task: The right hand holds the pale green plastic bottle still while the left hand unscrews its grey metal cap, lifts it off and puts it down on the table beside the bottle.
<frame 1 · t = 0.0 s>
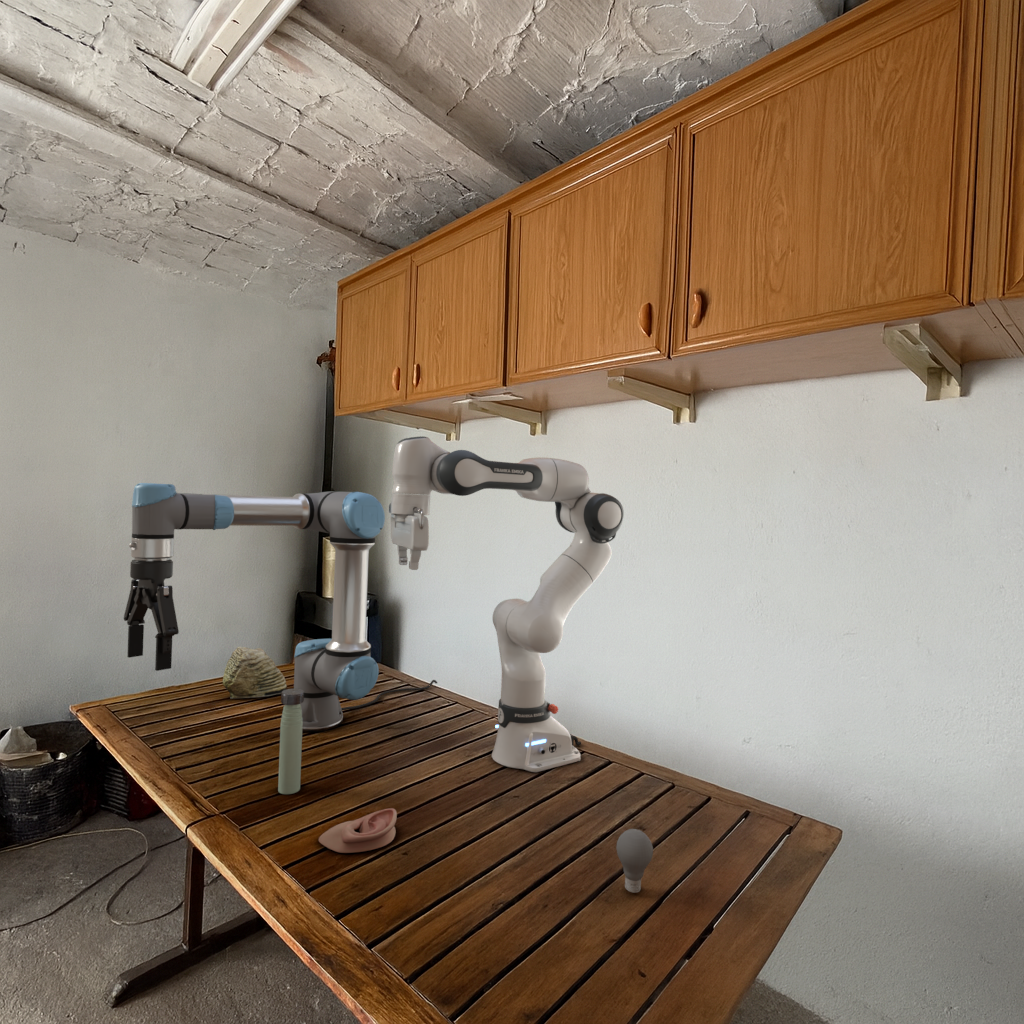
left hand: (148, 662, 129), 28 cm above the table, tool pointing down, fingers open, 13 cm apart
right hand: (408, 567, 145), 48 cm above the table, tool pointing down, fingers open, 8 cm apart
light bulb: (632, 891, 106), on the table
cap: (292, 692, 136), point 21 cm above the table, screwed on, not yet turned
fossil: (254, 694, 198), on the table
anatomical model: (358, 838, 118), on the table
bottle: (289, 789, 136), on the table
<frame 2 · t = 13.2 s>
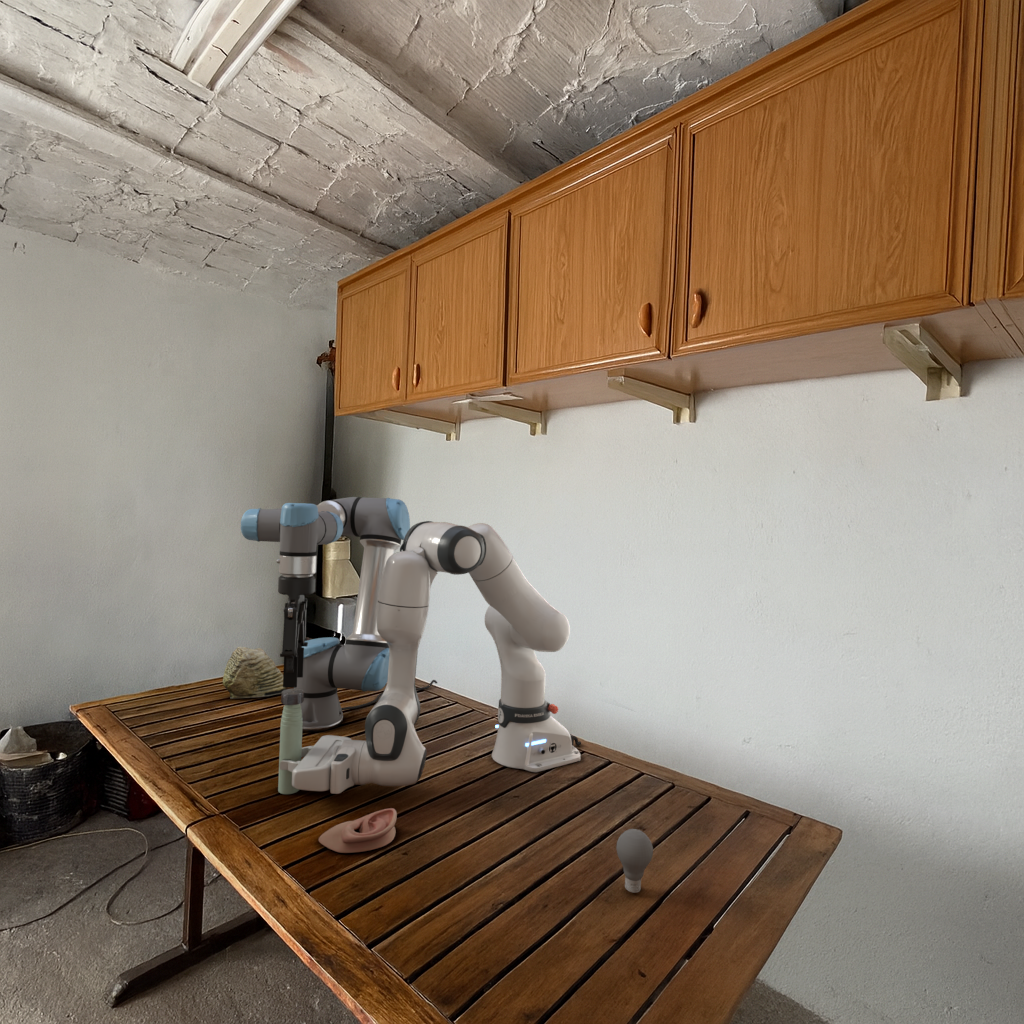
left hand: (293, 681, 136), 23 cm above the table, tool pointing down, fingers open, 7 cm apart
right hand: (286, 758, 136), 7 cm above the table, tool horizontal, fingers closed on bottle, 4 cm apart
bottle: (289, 789, 136), on the table, touching right hand
everything else where it was.
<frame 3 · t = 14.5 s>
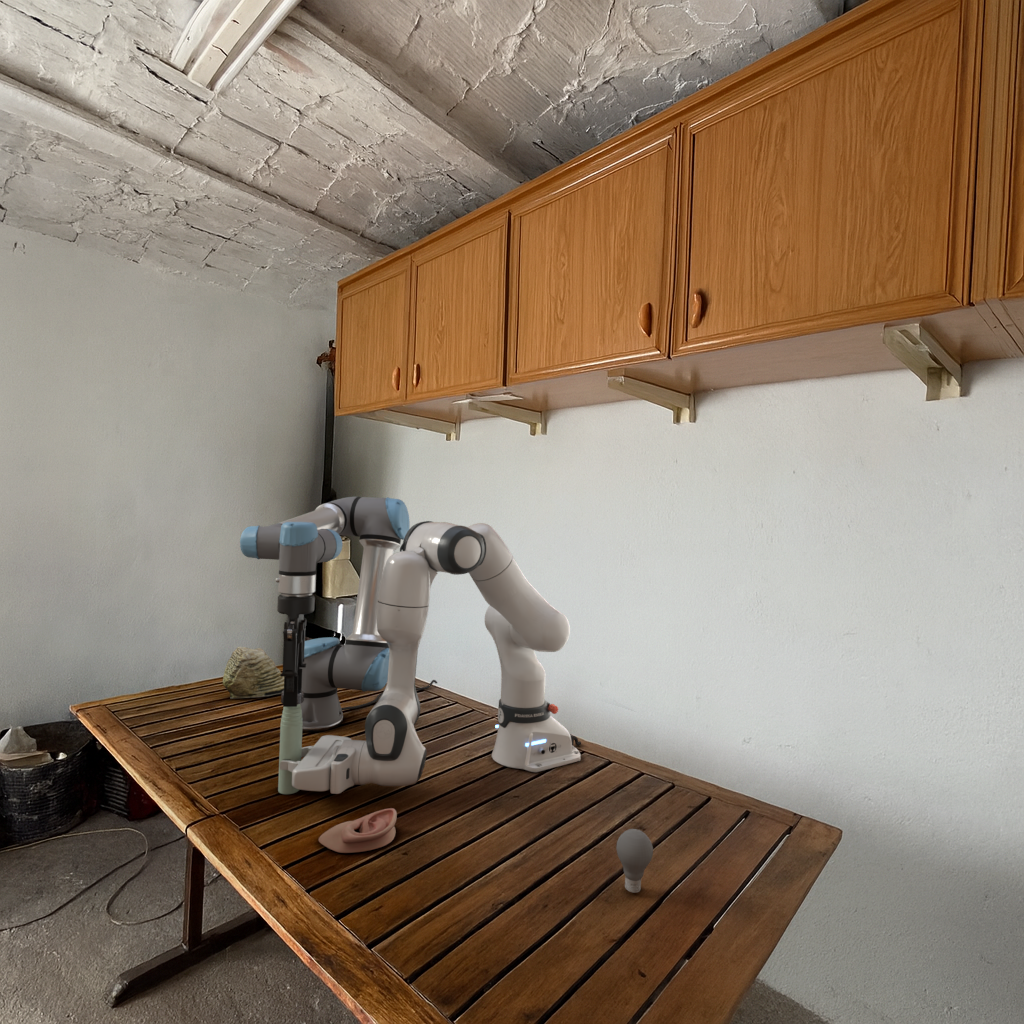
left hand: (292, 702, 136), 19 cm above the table, tool pointing down, fingers closed on cap, 4 cm apart
right hand: (286, 758, 136), 7 cm above the table, tool horizontal, fingers closed on bottle, 4 cm apart
cap: (292, 692, 136), point 21 cm above the table, screwed on, not yet turned, touching left hand
bottle: (289, 789, 136), on the table, touching right hand
everything else where it was.
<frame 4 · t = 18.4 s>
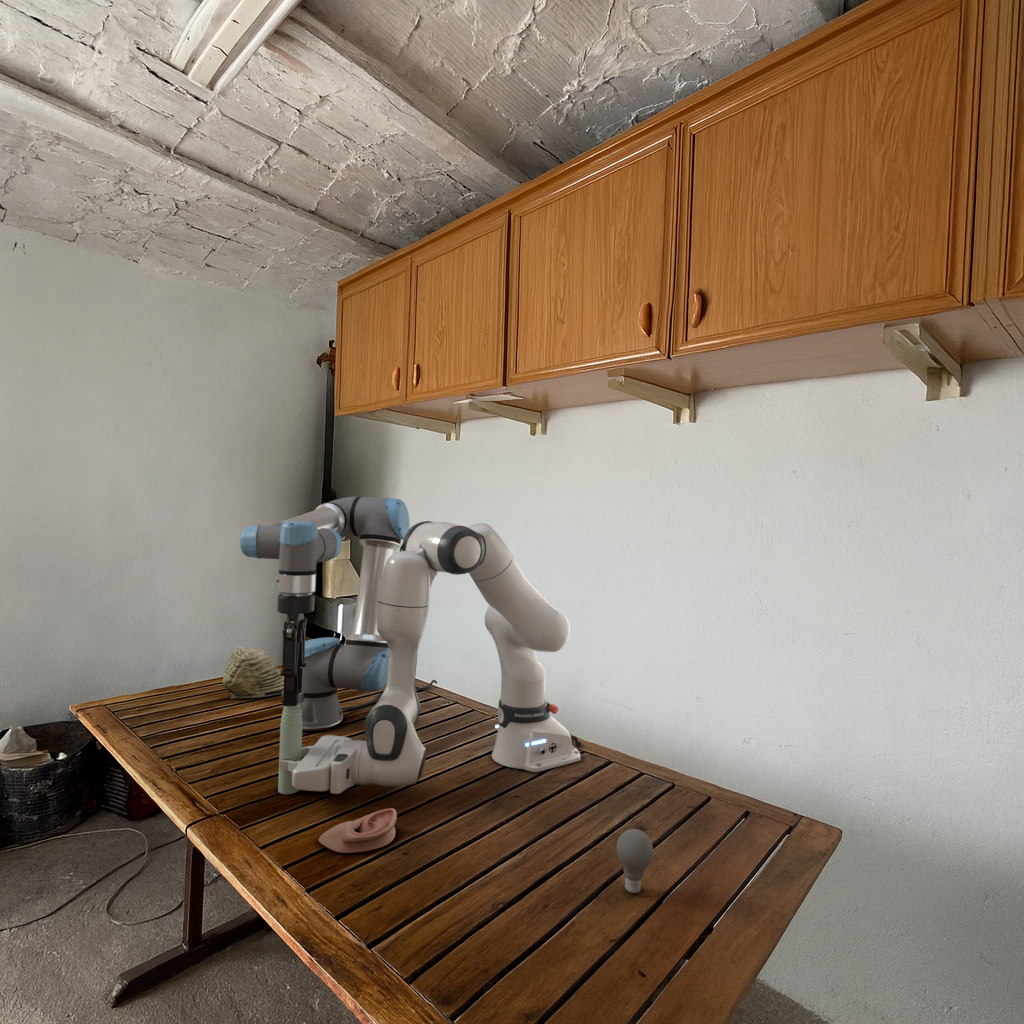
left hand: (292, 701, 136), 19 cm above the table, tool pointing down, fingers closed on cap, 4 cm apart
right hand: (286, 758, 136), 7 cm above the table, tool horizontal, fingers closed on bottle, 4 cm apart
cap: (292, 692, 136), point 21 cm above the table, turned 134° so far, risen 0.1 cm, still on its thread, touching left hand
bottle: (289, 789, 136), on the table, touching right hand
everything else where it was.
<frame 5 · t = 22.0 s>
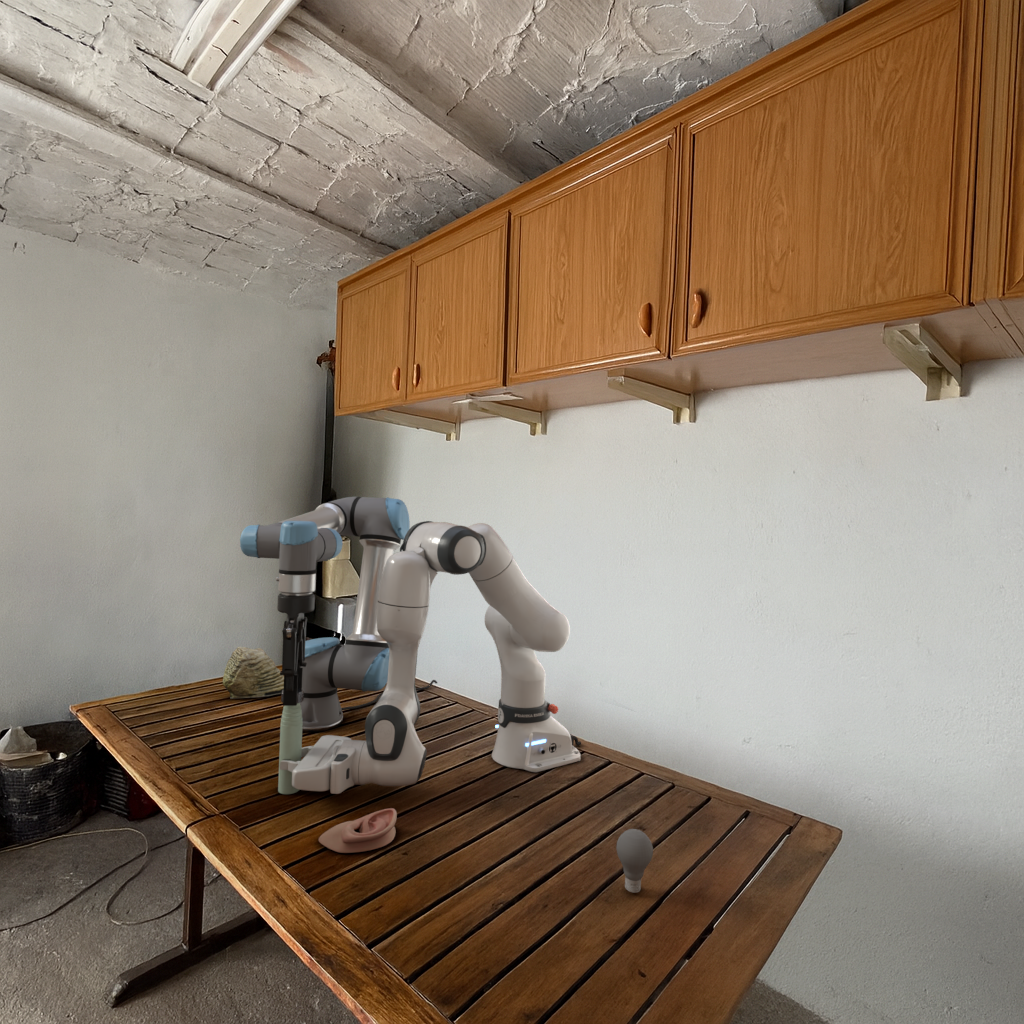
left hand: (292, 700, 136), 19 cm above the table, tool pointing down, fingers closed on cap, 4 cm apart
right hand: (286, 758, 136), 7 cm above the table, tool horizontal, fingers closed on bottle, 4 cm apart
cap: (292, 691, 136), point 21 cm above the table, turned 267° so far, risen 0.2 cm, still on its thread, touching left hand
bottle: (289, 789, 136), on the table, touching right hand
everything else where it was.
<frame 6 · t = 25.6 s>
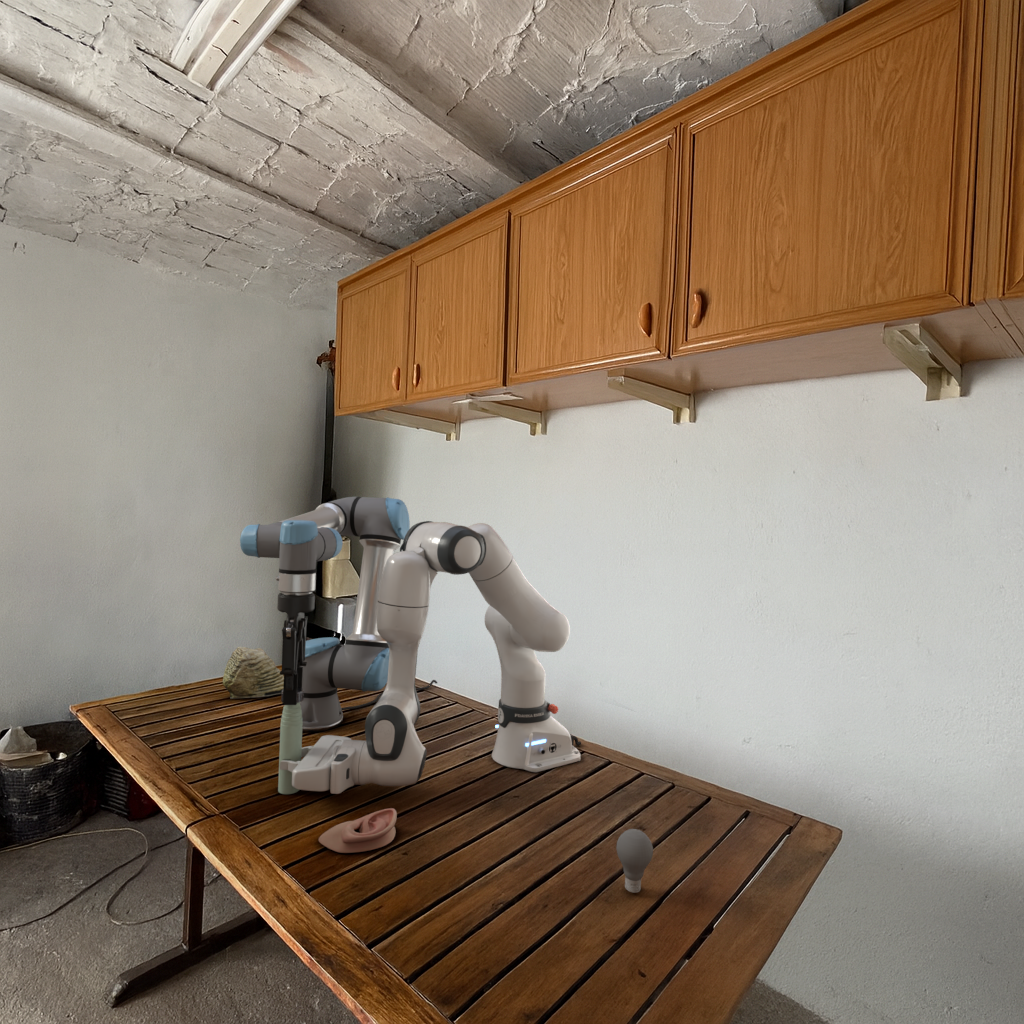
left hand: (292, 700, 136), 19 cm above the table, tool pointing down, fingers closed on cap, 4 cm apart
right hand: (286, 758, 136), 7 cm above the table, tool horizontal, fingers closed on bottle, 4 cm apart
cap: (292, 691, 136), point 21 cm above the table, turned 401° so far, risen 0.4 cm, still on its thread, touching left hand
bottle: (289, 789, 136), on the table, touching right hand
everything else where it was.
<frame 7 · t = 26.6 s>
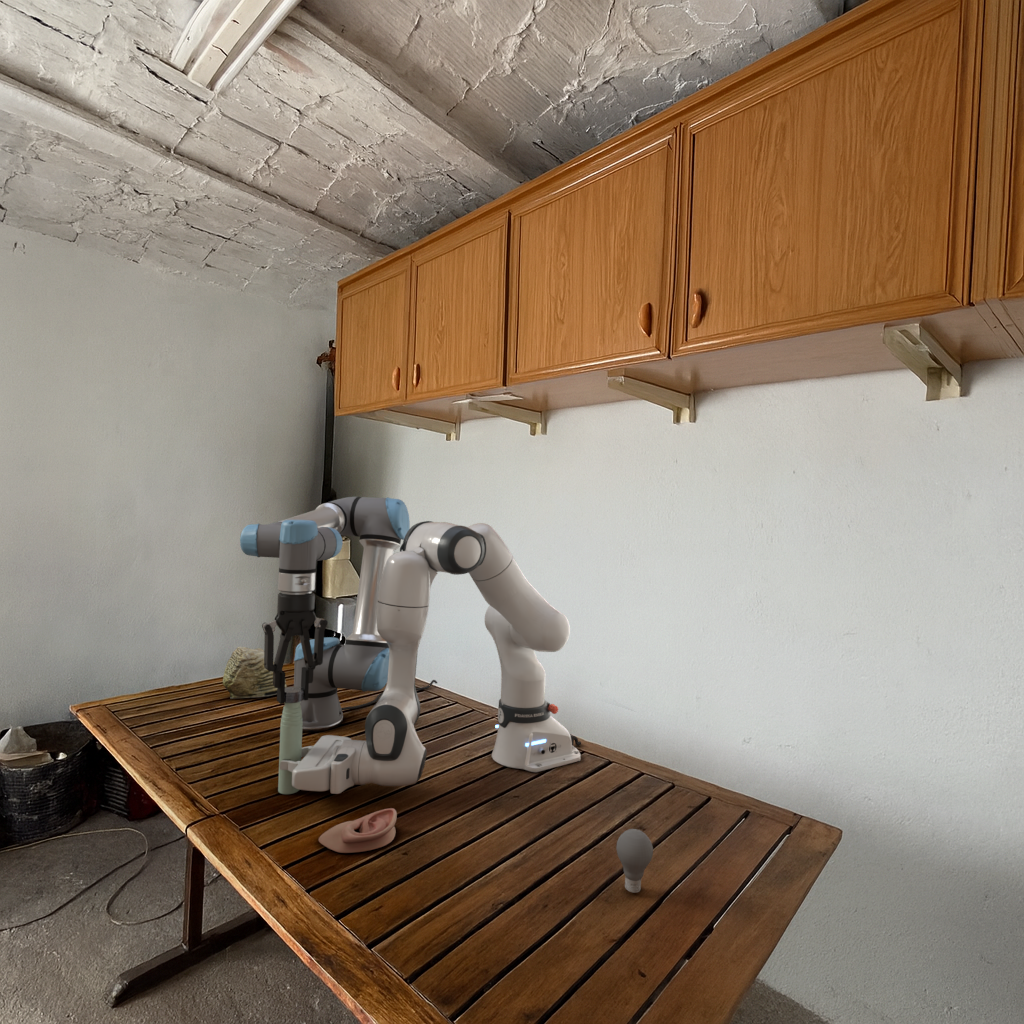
left hand: (292, 699, 136), 19 cm above the table, tool pointing down, fingers closed on cap, 4 cm apart
right hand: (286, 758, 136), 7 cm above the table, tool horizontal, fingers closed on bottle, 4 cm apart
cap: (292, 690, 136), point 21 cm above the table, off its thread, touching left hand
bottle: (289, 789, 136), on the table, touching right hand
everything else where it was.
when the left hand's fingers open (2 cm above the table, at t = 32.7 s): cap drops 2 cm, point 2 cm above the table.
when the right hand's fingers open (7 cm above the table, at t = 33.9 s): bottle stays where it is, on the table.
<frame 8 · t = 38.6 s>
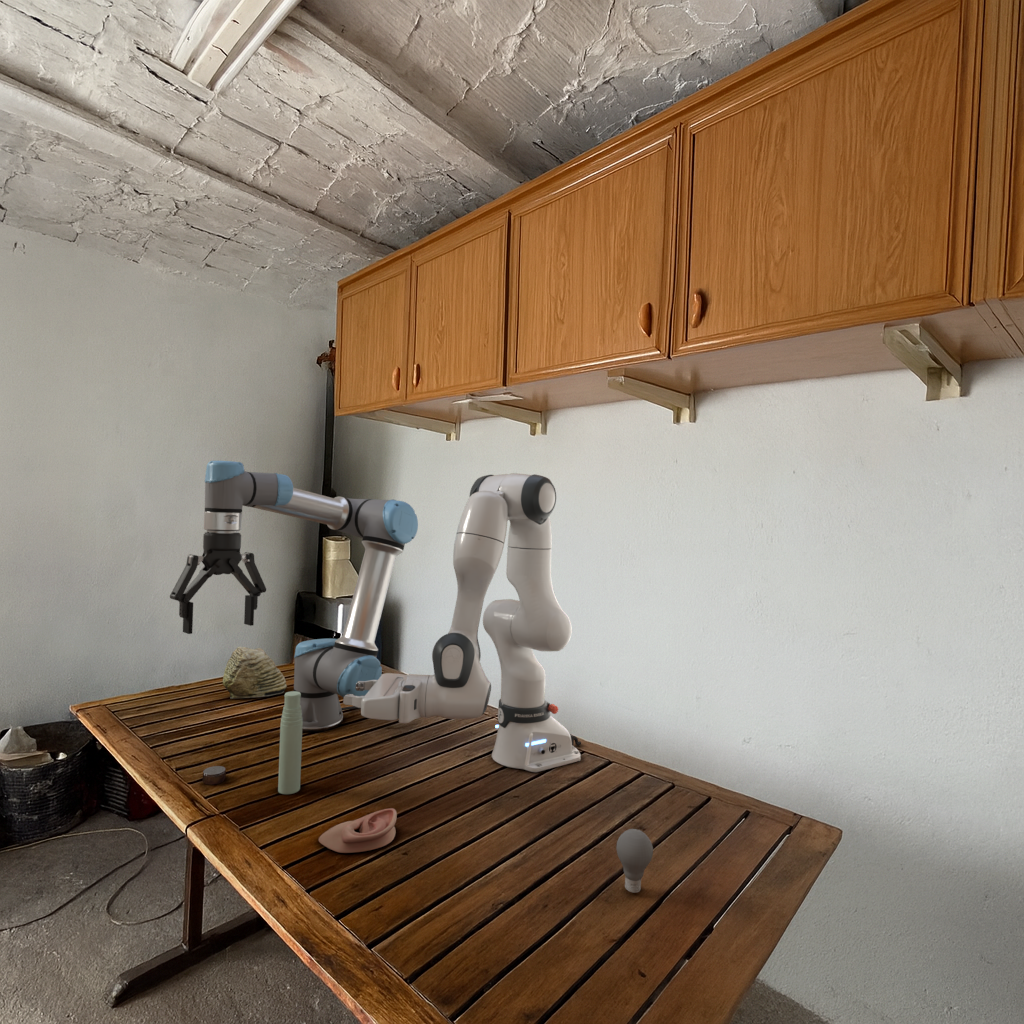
left hand: (219, 628, 139), 34 cm above the table, tool pointing down, fingers open, 13 cm apart
right hand: (350, 692, 136), 22 cm above the table, tool horizontal, fingers open, 8 cm apart
cap: (214, 771, 139), point 2 cm above the table, off its thread
bottle: (289, 789, 136), on the table
everything else where it was.
at the end: cap came off its thread; cap point 2.0 cm above the table; the left hand is holding nothing; the right hand is holding nothing; bottle tilted 0°; bottle moved 0.0 cm from its start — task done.
